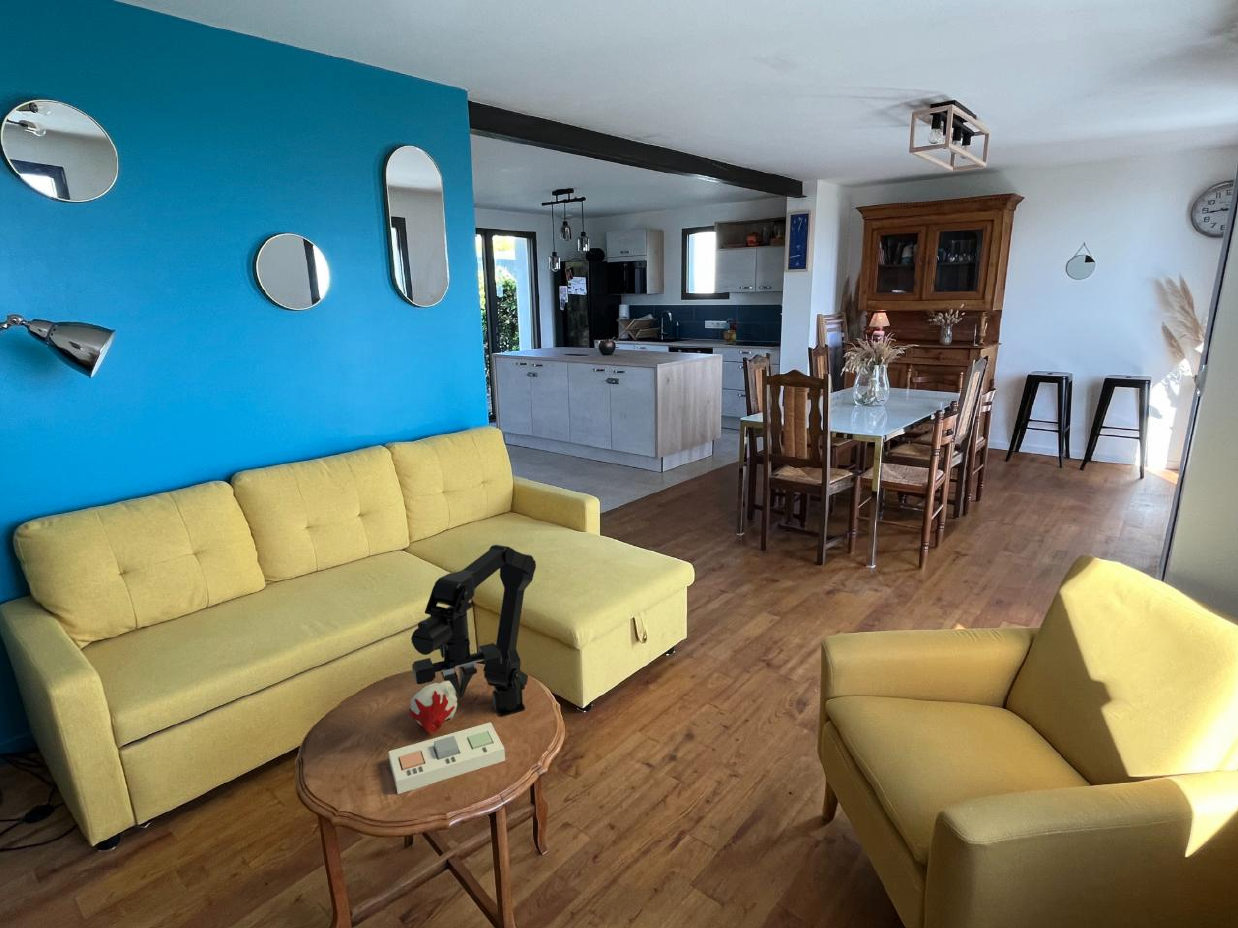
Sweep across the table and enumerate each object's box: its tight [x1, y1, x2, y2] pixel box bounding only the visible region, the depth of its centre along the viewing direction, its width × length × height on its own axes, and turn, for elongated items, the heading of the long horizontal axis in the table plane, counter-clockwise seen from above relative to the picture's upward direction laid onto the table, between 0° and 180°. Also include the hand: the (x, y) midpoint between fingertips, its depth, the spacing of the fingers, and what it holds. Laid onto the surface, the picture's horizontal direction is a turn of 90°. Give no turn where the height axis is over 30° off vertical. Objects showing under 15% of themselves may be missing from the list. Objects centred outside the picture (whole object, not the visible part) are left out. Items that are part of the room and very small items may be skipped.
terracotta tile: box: [399, 751, 424, 771], centre depth 148 cm, size 4×4×2 cm
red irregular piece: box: [409, 680, 458, 734], centre depth 165 cm, size 9×11×15 cm
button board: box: [388, 722, 506, 795], centre depth 151 cm, size 23×11×3 cm, turn 116°
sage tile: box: [468, 731, 492, 750], centre depth 154 cm, size 4×4×2 cm
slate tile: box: [434, 736, 459, 760], centre depth 151 cm, size 4×4×2 cm
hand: (460, 697), depth 153 cm, fingers closed
